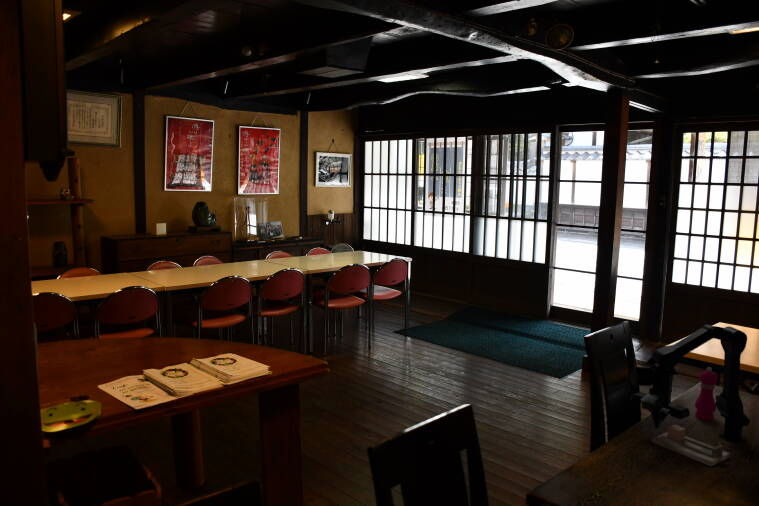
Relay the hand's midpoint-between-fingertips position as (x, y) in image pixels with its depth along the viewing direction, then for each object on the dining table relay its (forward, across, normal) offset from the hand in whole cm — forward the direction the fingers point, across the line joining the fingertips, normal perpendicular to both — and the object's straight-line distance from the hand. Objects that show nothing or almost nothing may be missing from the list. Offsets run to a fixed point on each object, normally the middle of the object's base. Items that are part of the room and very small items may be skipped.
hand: (657, 428), depth 208 cm
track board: (+3, +12, 0) cm, 12 cm away
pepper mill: (+3, 0, +33) cm, 33 cm away
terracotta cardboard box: (+1, +7, 0) cm, 7 cm away
